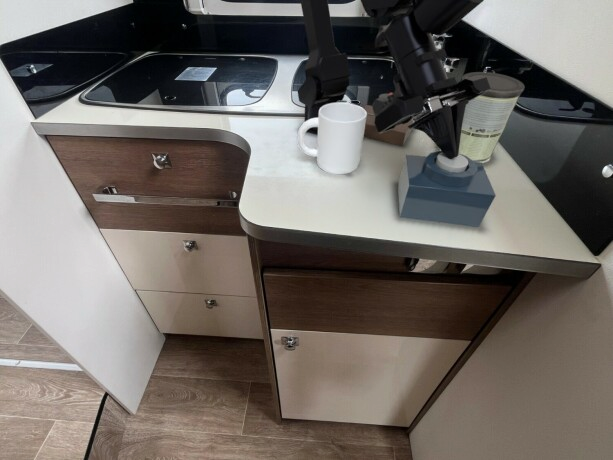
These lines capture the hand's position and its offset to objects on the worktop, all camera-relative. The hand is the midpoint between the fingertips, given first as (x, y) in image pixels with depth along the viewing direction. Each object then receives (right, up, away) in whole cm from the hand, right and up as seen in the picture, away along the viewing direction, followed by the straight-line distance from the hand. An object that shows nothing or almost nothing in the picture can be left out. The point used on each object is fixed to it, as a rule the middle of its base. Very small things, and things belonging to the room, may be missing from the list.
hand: (453, 157), depth 47 cm
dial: (-4, +14, +23) cm, 28 cm away
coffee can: (+11, +5, +19) cm, 23 cm away
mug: (-18, +2, +15) cm, 23 cm away
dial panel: (-4, +12, +26) cm, 29 cm away
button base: (0, -6, +6) cm, 9 cm away
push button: (0, -2, +2) cm, 3 cm away
